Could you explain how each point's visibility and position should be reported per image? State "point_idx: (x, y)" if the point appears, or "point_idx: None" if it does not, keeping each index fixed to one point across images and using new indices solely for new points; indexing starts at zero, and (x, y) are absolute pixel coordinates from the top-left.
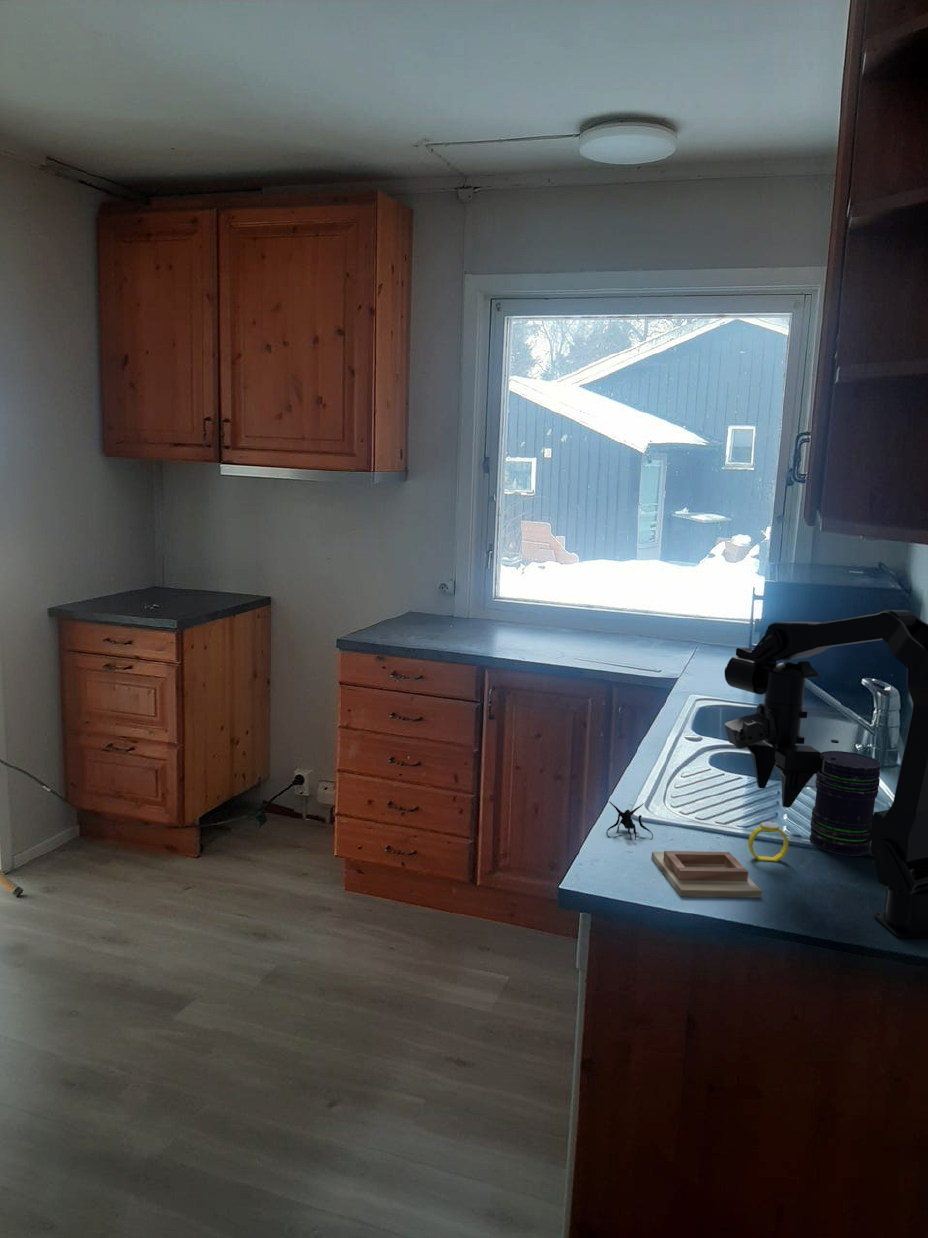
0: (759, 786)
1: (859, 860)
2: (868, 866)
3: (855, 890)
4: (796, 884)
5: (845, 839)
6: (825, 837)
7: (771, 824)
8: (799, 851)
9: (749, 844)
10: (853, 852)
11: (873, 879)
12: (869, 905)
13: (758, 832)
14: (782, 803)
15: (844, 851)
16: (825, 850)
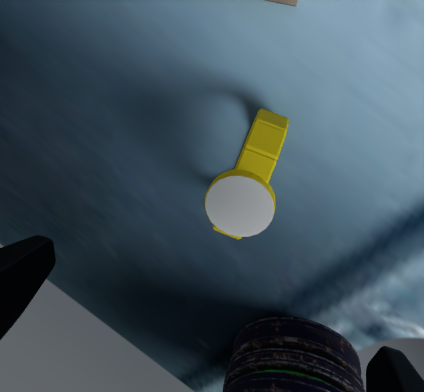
0: (384, 356)
1: (213, 331)
2: (185, 323)
3: (82, 225)
4: (103, 124)
5: (236, 359)
6: (277, 344)
7: (240, 217)
8: (284, 269)
9: (272, 114)
10: (234, 344)
11: (130, 288)
12: (21, 200)
13: (242, 149)
14: (30, 244)
15: (241, 335)
16: (272, 317)
